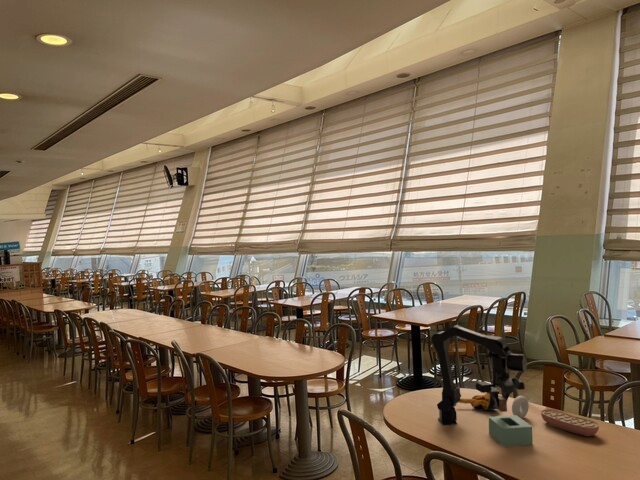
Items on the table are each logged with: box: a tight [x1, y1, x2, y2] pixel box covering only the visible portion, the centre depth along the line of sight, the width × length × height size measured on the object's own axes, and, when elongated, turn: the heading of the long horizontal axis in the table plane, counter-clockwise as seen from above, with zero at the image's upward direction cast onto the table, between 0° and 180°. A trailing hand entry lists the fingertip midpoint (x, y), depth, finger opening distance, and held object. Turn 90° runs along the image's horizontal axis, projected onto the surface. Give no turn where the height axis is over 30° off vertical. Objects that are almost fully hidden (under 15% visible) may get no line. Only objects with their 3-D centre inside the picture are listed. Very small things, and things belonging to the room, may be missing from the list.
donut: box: [511, 395, 530, 420], centre depth 208 cm, size 10×4×10 cm, turn 124°
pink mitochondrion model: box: [540, 408, 600, 437], centre depth 195 cm, size 23×10×5 cm, turn 34°
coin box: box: [488, 414, 534, 448], centre depth 188 cm, size 12×12×7 cm
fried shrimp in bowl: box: [458, 392, 497, 412], centre depth 220 cm, size 9×11×18 cm
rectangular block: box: [495, 394, 508, 413], centre depth 192 cm, size 2×5×5 cm, turn 7°
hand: (501, 406), depth 192 cm, fingers closed on rectangular block, 2 cm apart
